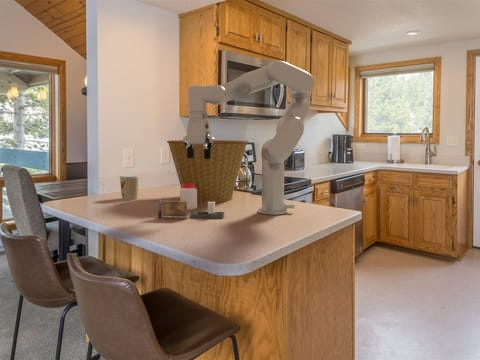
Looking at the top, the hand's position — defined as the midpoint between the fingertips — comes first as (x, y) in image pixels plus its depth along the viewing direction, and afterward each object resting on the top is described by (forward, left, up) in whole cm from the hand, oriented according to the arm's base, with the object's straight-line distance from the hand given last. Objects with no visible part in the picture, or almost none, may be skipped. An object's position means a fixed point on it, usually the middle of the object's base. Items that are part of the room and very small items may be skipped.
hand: (198, 158), depth 159 cm
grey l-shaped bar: (+9, +10, -23) cm, 27 cm away
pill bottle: (+7, -13, -24) cm, 28 cm away
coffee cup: (+42, -34, -24) cm, 59 cm away
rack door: (+8, +10, -22) cm, 26 cm away
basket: (+2, -40, -24) cm, 46 cm away
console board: (-4, +5, -23) cm, 24 cm away
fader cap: (-6, +5, -22) cm, 23 cm away
